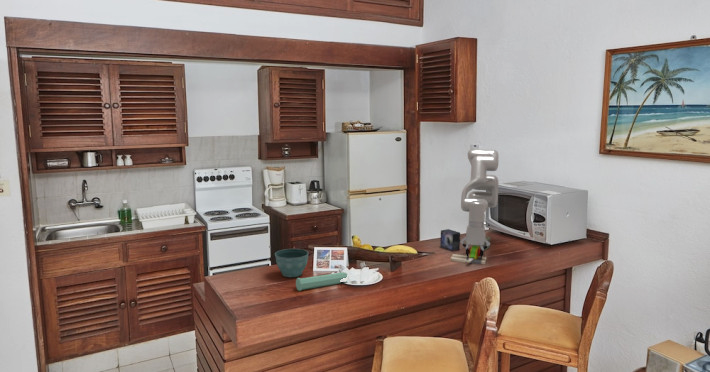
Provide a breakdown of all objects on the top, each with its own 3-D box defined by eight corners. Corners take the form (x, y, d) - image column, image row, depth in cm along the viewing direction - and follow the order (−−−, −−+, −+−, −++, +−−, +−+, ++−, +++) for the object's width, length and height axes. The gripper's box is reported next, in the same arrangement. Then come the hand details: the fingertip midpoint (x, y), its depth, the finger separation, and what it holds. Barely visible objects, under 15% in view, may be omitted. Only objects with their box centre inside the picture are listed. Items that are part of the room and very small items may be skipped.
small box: (439, 247, 297) (440, 230, 295) (447, 245, 300) (448, 228, 299) (452, 251, 288) (452, 233, 286) (460, 249, 291) (460, 232, 290)
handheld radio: (490, 248, 297) (474, 257, 277) (485, 247, 299) (469, 256, 279) (491, 237, 296) (474, 245, 276) (485, 236, 298) (469, 245, 278)
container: (345, 268, 235) (297, 275, 222) (351, 276, 231) (302, 283, 218) (343, 277, 238) (294, 285, 225) (348, 285, 233) (299, 294, 221)
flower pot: (272, 279, 235) (272, 257, 233) (278, 269, 251) (277, 248, 249) (306, 280, 235) (306, 258, 233) (310, 269, 251) (310, 248, 249)
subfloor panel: (452, 256, 277) (452, 253, 277) (486, 259, 272) (486, 257, 271) (450, 261, 269) (450, 258, 269) (485, 264, 263) (485, 261, 263)
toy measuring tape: (484, 255, 274) (484, 244, 273) (472, 264, 258) (473, 252, 257) (472, 253, 278) (473, 242, 277) (460, 262, 261) (461, 250, 260)
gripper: (493, 223, 267) (491, 256, 270) (460, 221, 273) (458, 253, 275) (492, 226, 260) (490, 260, 263) (458, 224, 266) (457, 256, 268)
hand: (474, 256), depth 269 cm, fingers closed on toy measuring tape, 6 cm apart
